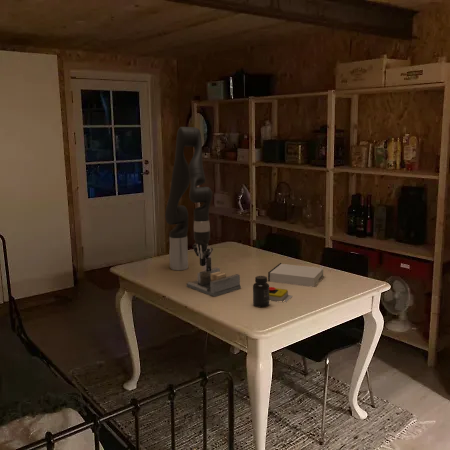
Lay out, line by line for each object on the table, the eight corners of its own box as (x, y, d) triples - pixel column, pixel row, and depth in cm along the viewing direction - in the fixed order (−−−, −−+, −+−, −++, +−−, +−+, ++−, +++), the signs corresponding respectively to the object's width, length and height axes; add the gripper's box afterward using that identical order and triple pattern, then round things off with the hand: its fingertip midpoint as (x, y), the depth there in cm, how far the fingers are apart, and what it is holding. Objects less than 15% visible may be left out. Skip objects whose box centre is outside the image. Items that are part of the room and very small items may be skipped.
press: (186, 286, 239) (186, 273, 238) (212, 279, 250) (212, 266, 248) (214, 297, 224) (214, 282, 223) (240, 288, 235) (240, 275, 234)
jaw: (197, 284, 236) (196, 260, 233) (217, 279, 244) (216, 255, 241) (200, 286, 234) (200, 261, 232) (220, 280, 242) (219, 256, 239)
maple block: (210, 286, 234) (210, 273, 233) (219, 283, 238) (218, 271, 236) (218, 288, 231) (217, 276, 229) (226, 286, 234) (225, 273, 233)
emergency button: (261, 283, 230) (293, 287, 223) (261, 292, 231) (293, 297, 224) (253, 289, 221) (286, 294, 215) (253, 299, 222) (286, 303, 216)
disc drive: (279, 272, 260) (280, 262, 259) (323, 277, 251) (323, 267, 250) (267, 282, 245) (267, 272, 244) (313, 287, 235) (313, 277, 234)
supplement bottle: (268, 301, 218) (268, 274, 215) (270, 307, 211) (270, 279, 209) (252, 302, 218) (252, 275, 215) (253, 307, 211) (253, 280, 208)
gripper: (217, 230, 235) (218, 266, 238) (199, 226, 244) (200, 261, 248) (204, 233, 230) (205, 270, 233) (186, 229, 239) (188, 264, 243)
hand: (202, 265), depth 240 cm, fingers closed
